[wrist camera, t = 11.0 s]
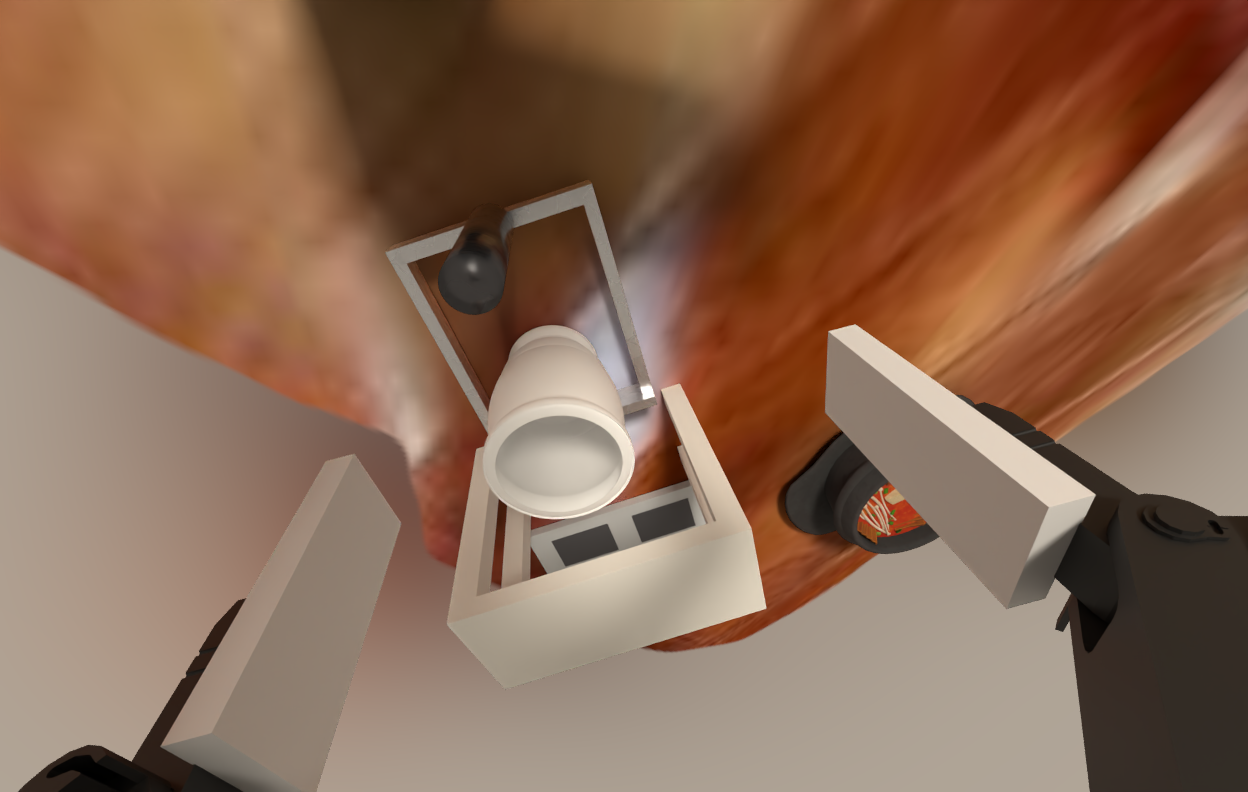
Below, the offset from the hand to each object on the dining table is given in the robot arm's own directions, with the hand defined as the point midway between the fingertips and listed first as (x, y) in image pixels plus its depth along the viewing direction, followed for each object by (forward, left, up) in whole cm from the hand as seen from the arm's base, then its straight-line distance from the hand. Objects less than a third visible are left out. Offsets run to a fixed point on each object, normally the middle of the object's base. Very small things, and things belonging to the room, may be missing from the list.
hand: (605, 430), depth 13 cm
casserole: (+39, +27, -30) cm, 56 cm away
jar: (+13, -5, -30) cm, 33 cm away
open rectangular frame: (+30, -5, -30) cm, 43 cm away
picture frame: (+8, -5, -29) cm, 30 cm away
